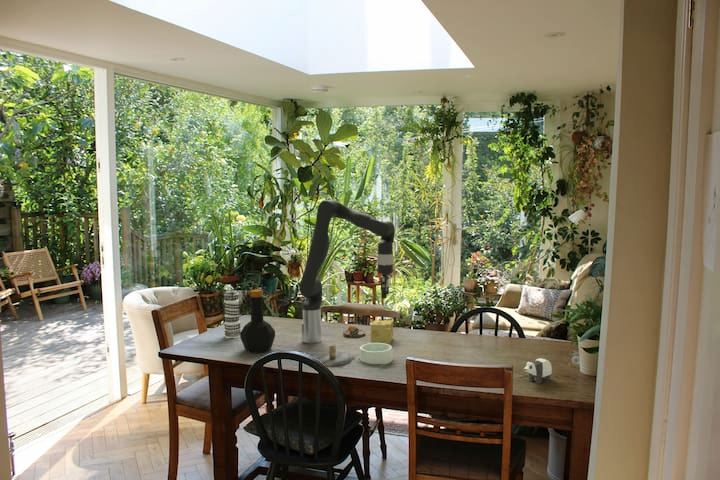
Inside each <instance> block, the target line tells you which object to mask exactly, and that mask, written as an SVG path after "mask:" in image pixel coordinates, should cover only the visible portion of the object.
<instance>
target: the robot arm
mask: <svg viewBox="0 0 720 480" xmlns="http://www.w3.org/2000/svg"><path fill="white" fill-rule="evenodd" d="M333 218H335V219H342V220H345V221H348V222H350V223H351V224H352V225H354V226H356V227H358V228H360V229H363V230H366V231H369V232H370V233H372V234H374V235H376V236H378V237H380V241H379V242H378V245H377V273H378V274H381V277H380V290H381V298H382V299H387V295H388V296H389V294H390V292H389V291H390V288H389V287H390V284H391V282H390V281H391V280H390V279H391V277H390V274H393V273H394V249H393V245H394V239H395V235H396V234H395V233H396V228H395V224H394V223H393V222H392V221H389V220H386V221H382V220H381V221H380V220H378V219H376V217H375V216H372V215H370V214H366V213H363V212H360V211H358V210H356V209H352V208H350V207H348V206H346V205H345V204H343V203H341V202H339V201H337V200H335V199H324V200H322V201H321V202H320V203H319V204H318V206H317V211H316V218H315V224H314V225H315V226H314V229H313V234H312V238H311V242H310V245H309V250H308V255H307V260H306V262H305V263H306V264H305V266H304V267H305V268H304V270H303V273H302V277H301V280H300V283H299V286H298V287H299V292H300V295H301V296H302V297H304V298H305V300H304V302H302V323H301V342H303V343H306V344H312V343H313V344H317V343H321V342H322V317H321V316H322V315H321V314H322V311H321V310H322V309H321V306H322V302H323V285H322V281H321V280H320V279H319V278H318V277H317V275H318V274H319V273H318V272H319V271H320V270H321V267H323V264H324V262H325V261H326V258H327V256H328V252H329V248H330V238H329V227H330V222H331V220H332V219H333Z"/></svg>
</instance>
